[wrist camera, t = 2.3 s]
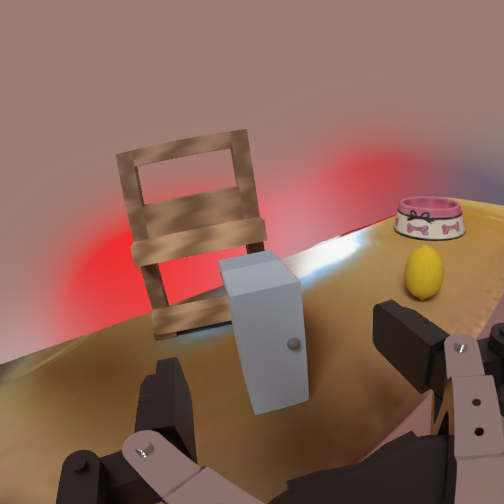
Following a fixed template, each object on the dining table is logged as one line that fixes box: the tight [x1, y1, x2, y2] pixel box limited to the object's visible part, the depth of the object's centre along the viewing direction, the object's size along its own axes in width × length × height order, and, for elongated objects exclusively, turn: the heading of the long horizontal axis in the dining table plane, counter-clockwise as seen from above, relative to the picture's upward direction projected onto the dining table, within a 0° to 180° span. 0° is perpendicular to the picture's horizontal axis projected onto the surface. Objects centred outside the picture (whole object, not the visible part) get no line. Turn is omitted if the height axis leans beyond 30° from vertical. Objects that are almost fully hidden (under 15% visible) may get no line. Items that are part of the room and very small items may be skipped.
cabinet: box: [218, 250, 309, 415], centre depth 26 cm, size 5×9×12 cm, turn 12°
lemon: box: [405, 244, 444, 301], centre depth 36 cm, size 6×6×8 cm
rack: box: [116, 129, 267, 340], centre depth 38 cm, size 17×6×24 cm, turn 102°
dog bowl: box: [394, 197, 466, 241], centre depth 63 cm, size 18×19×7 cm
